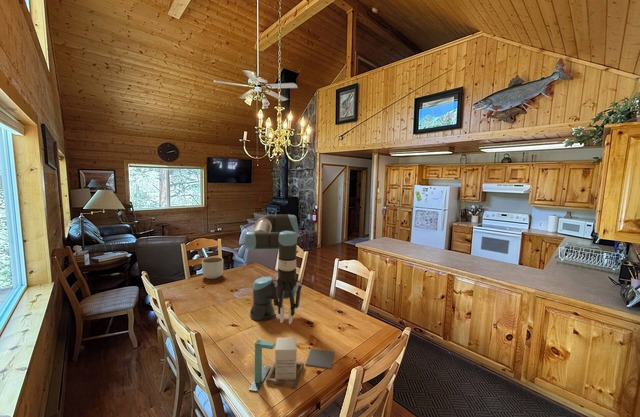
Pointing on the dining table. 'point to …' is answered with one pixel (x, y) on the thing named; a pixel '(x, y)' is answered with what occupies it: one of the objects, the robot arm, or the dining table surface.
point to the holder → (282, 382)
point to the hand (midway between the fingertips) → (286, 321)
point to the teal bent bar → (260, 357)
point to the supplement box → (286, 359)
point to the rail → (256, 386)
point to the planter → (212, 267)
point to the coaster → (320, 358)
